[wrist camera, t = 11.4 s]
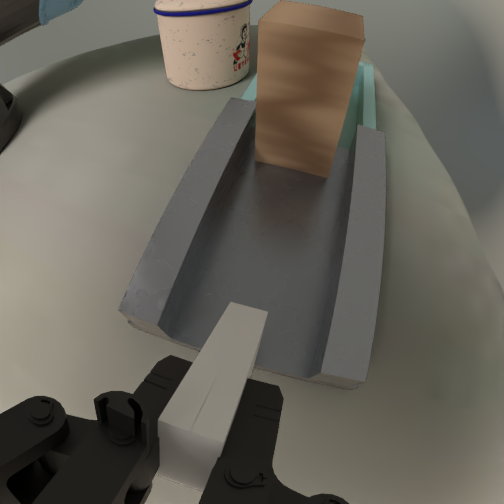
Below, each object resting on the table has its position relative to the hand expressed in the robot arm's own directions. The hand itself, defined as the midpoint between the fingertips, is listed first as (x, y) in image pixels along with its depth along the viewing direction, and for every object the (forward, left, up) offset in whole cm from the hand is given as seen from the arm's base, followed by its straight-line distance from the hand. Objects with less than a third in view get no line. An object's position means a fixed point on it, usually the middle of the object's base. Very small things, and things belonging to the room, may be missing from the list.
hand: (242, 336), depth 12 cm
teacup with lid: (-12, +26, -4) cm, 29 cm away
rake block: (0, +14, -3) cm, 15 cm away
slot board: (0, +7, -4) cm, 8 cm away
